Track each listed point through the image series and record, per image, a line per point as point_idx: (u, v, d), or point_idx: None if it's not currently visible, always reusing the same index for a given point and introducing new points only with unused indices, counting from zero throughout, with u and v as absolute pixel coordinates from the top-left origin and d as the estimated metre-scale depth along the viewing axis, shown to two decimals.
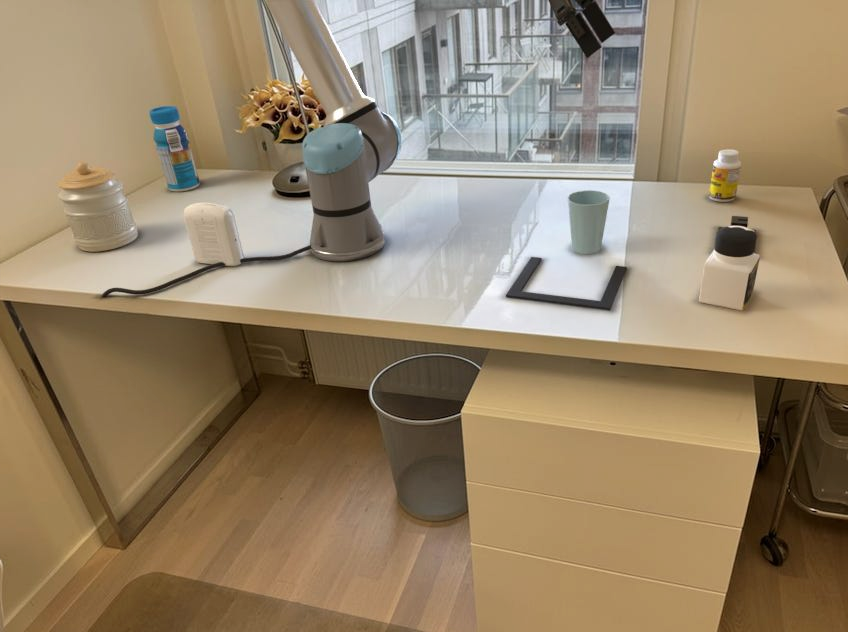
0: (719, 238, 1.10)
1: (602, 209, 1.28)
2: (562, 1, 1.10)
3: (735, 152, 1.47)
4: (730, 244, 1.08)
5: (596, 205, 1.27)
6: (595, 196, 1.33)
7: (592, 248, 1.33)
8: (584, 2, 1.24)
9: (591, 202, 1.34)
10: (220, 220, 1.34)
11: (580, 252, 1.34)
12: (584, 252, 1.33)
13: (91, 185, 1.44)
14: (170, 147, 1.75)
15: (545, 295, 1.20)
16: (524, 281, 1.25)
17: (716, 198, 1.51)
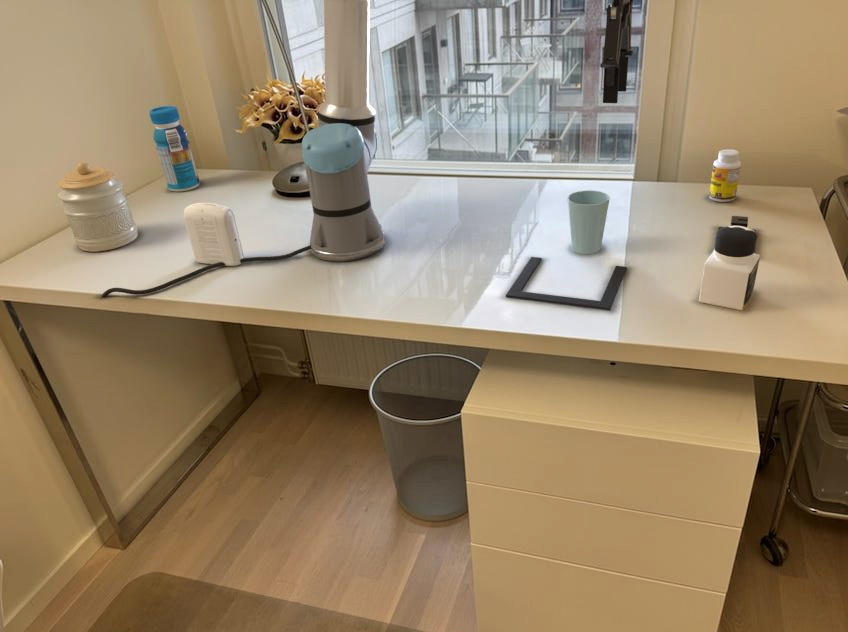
0: (719, 238, 1.10)
1: (602, 209, 1.28)
2: (613, 53, 1.28)
3: (735, 152, 1.47)
4: (730, 244, 1.08)
5: (596, 205, 1.27)
6: (595, 196, 1.33)
7: (592, 248, 1.33)
8: (620, 51, 1.40)
9: (591, 202, 1.34)
10: (220, 220, 1.34)
11: (580, 252, 1.34)
12: (584, 252, 1.33)
13: (91, 185, 1.44)
14: (170, 147, 1.75)
15: (545, 295, 1.20)
16: (524, 281, 1.25)
17: (716, 198, 1.51)
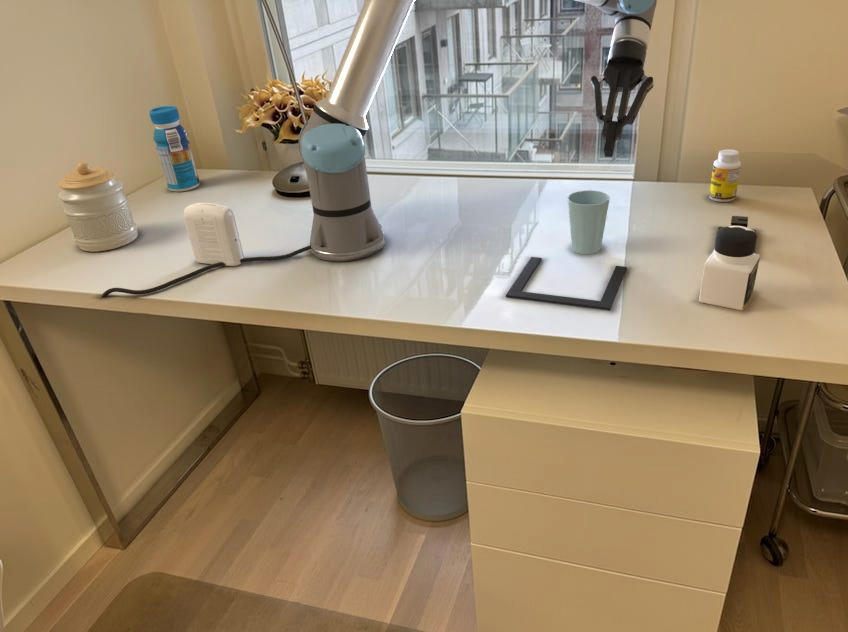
0: (719, 238, 1.10)
1: (602, 209, 1.28)
2: (636, 115, 1.43)
3: (735, 152, 1.47)
4: (730, 244, 1.08)
5: (596, 205, 1.27)
6: (595, 196, 1.33)
7: (592, 248, 1.33)
8: None
9: (591, 202, 1.34)
10: (220, 220, 1.34)
11: (580, 252, 1.34)
12: (584, 252, 1.33)
13: (91, 185, 1.44)
14: (170, 147, 1.75)
15: (545, 295, 1.20)
16: (524, 281, 1.25)
17: (716, 198, 1.51)
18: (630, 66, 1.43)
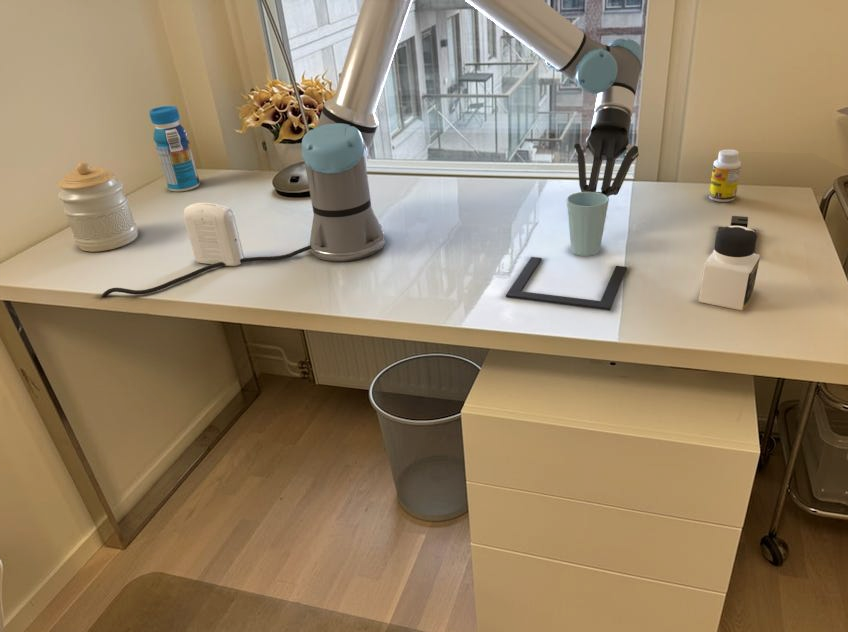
0: (719, 238, 1.10)
1: (600, 210, 1.28)
2: (620, 185, 1.38)
3: (735, 152, 1.47)
4: (730, 244, 1.08)
5: (594, 207, 1.27)
6: (595, 197, 1.33)
7: (590, 250, 1.32)
8: None
9: (591, 204, 1.33)
10: (220, 220, 1.34)
11: (578, 253, 1.33)
12: (582, 253, 1.33)
13: (91, 185, 1.44)
14: (170, 147, 1.75)
15: (545, 295, 1.20)
16: (524, 281, 1.25)
17: (716, 198, 1.51)
18: (614, 134, 1.39)
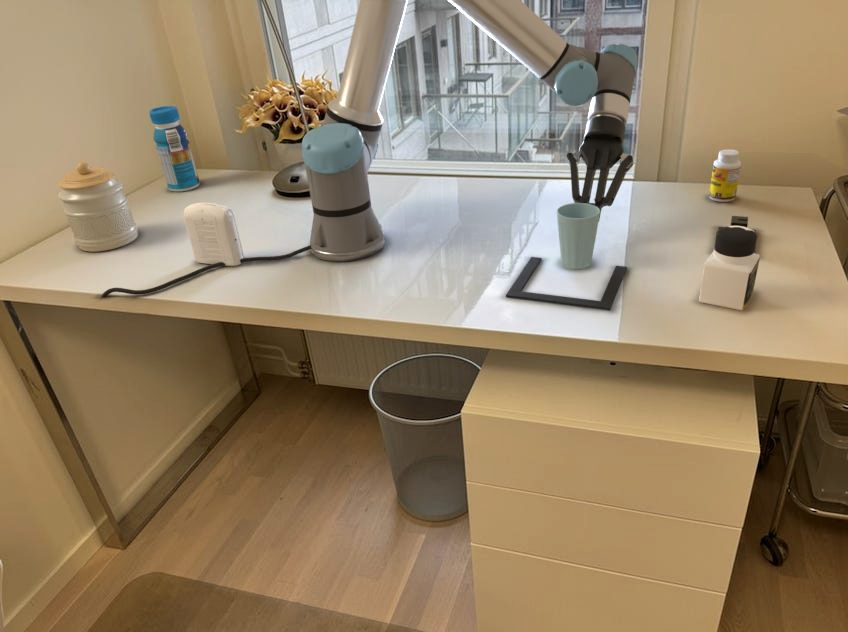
0: (719, 238, 1.10)
1: (587, 224, 1.23)
2: (615, 196, 1.33)
3: (735, 152, 1.47)
4: (730, 244, 1.08)
5: (580, 219, 1.22)
6: (590, 210, 1.28)
7: (578, 264, 1.28)
8: None
9: (586, 216, 1.29)
10: (220, 220, 1.34)
11: (566, 266, 1.29)
12: (570, 266, 1.29)
13: (91, 185, 1.44)
14: (170, 147, 1.75)
15: (545, 295, 1.20)
16: (524, 281, 1.25)
17: (716, 198, 1.51)
18: (608, 143, 1.34)
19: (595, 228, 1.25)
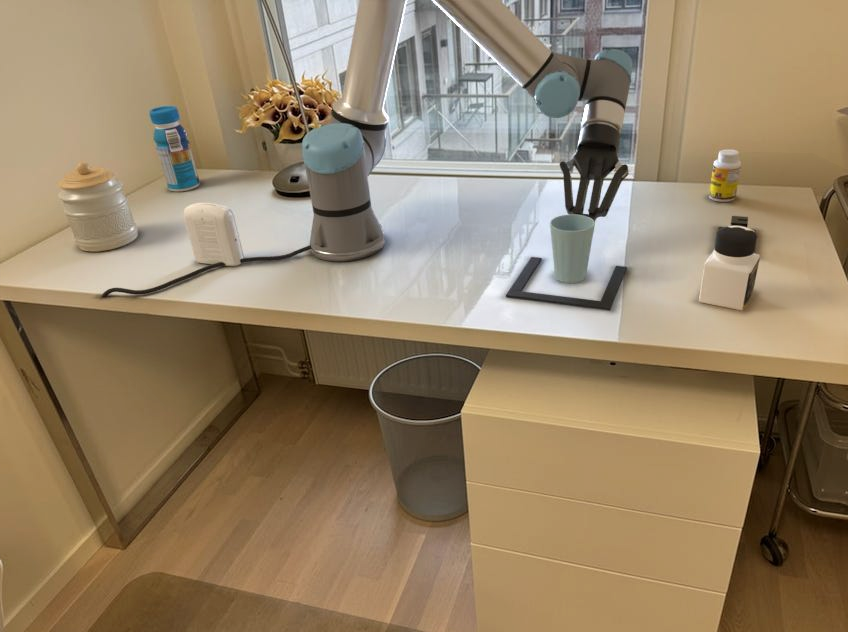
0: (719, 238, 1.10)
1: (582, 236, 1.19)
2: (609, 206, 1.29)
3: (735, 152, 1.47)
4: (730, 244, 1.08)
5: (574, 232, 1.18)
6: (584, 221, 1.23)
7: (572, 277, 1.23)
8: None
9: (580, 228, 1.24)
10: (220, 220, 1.34)
11: (560, 279, 1.25)
12: (564, 280, 1.24)
13: (91, 185, 1.44)
14: (170, 147, 1.75)
15: (545, 295, 1.20)
16: (524, 281, 1.25)
17: (716, 198, 1.51)
18: (602, 151, 1.29)
19: (590, 241, 1.20)
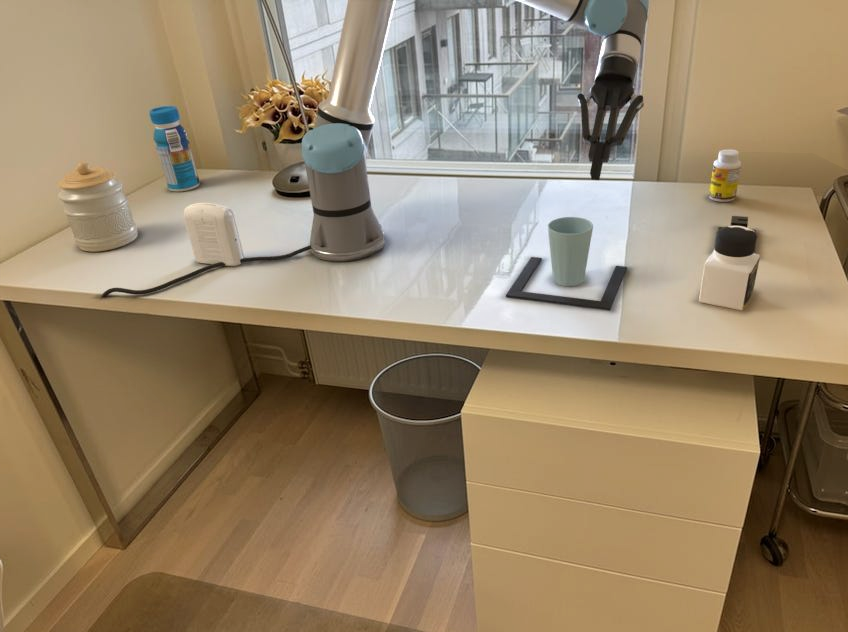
0: (719, 238, 1.10)
1: (580, 239, 1.18)
2: (624, 136, 1.34)
3: (735, 152, 1.47)
4: (730, 244, 1.08)
5: (572, 235, 1.17)
6: (582, 224, 1.22)
7: (570, 280, 1.23)
8: None
9: (579, 230, 1.23)
10: (220, 220, 1.34)
11: (558, 283, 1.24)
12: (562, 283, 1.23)
13: (91, 185, 1.44)
14: (170, 147, 1.75)
15: (545, 295, 1.20)
16: (524, 281, 1.25)
17: (716, 198, 1.51)
18: (619, 83, 1.35)
19: (588, 243, 1.20)
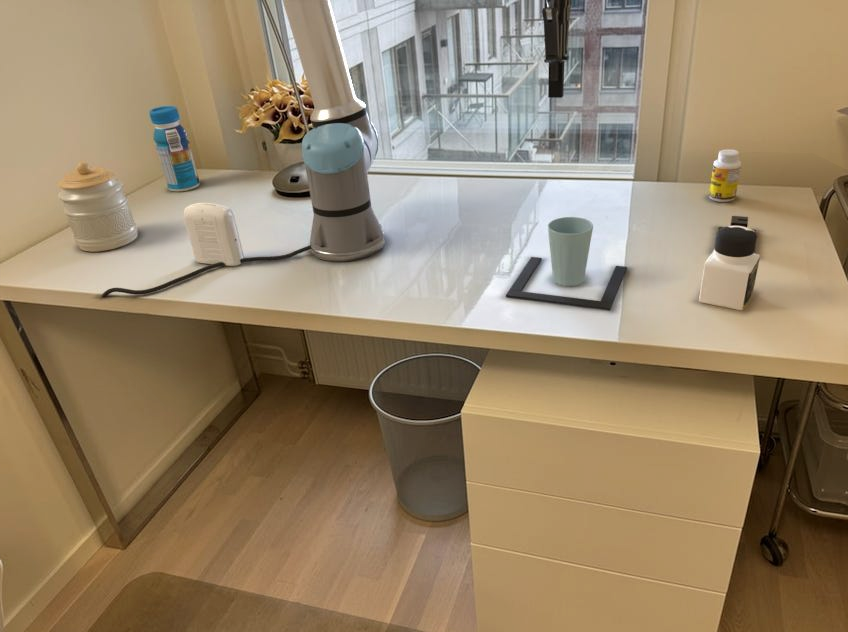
0: (719, 238, 1.10)
1: (580, 239, 1.18)
2: (555, 51, 1.31)
3: (735, 152, 1.47)
4: (730, 244, 1.08)
5: (572, 235, 1.17)
6: (582, 224, 1.22)
7: (570, 280, 1.23)
8: None
9: (579, 230, 1.23)
10: (220, 220, 1.34)
11: (558, 283, 1.24)
12: (562, 283, 1.23)
13: (91, 185, 1.44)
14: (170, 147, 1.75)
15: (545, 295, 1.20)
16: (524, 281, 1.25)
17: (716, 198, 1.51)
18: None
19: (588, 243, 1.20)
